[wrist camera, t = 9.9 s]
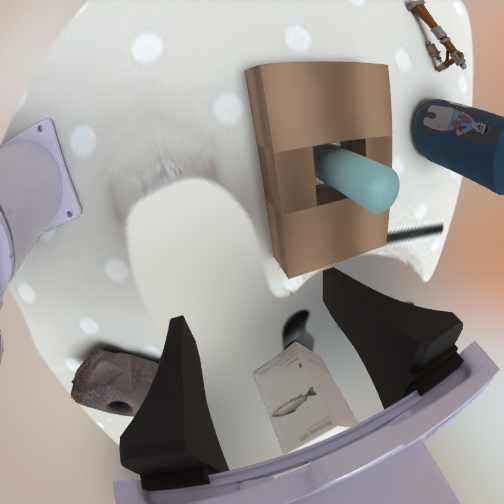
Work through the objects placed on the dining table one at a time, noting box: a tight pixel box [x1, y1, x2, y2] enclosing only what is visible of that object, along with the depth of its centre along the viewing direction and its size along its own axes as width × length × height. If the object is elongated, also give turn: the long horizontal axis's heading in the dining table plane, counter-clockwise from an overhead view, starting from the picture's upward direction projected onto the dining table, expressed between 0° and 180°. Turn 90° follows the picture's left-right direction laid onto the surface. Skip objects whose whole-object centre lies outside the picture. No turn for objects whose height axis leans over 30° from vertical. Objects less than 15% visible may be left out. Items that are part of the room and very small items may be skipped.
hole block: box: [245, 62, 392, 279], centre depth 20 cm, size 10×16×4 cm, turn 9°
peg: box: [312, 143, 399, 214], centre depth 18 cm, size 3×3×8 cm
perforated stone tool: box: [71, 348, 159, 417], centre depth 25 cm, size 15×5×7 cm, turn 55°
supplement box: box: [253, 341, 359, 455], centre depth 30 cm, size 7×7×13 cm
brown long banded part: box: [407, 0, 466, 72], centre depth 16 cm, size 2×8×4 cm, turn 31°
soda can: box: [413, 99, 504, 195], centre depth 18 cm, size 7×7×12 cm
